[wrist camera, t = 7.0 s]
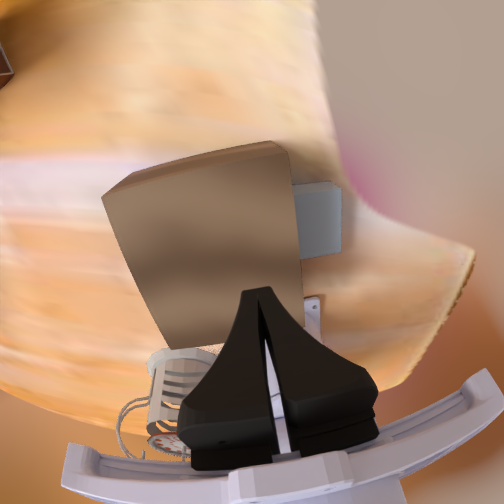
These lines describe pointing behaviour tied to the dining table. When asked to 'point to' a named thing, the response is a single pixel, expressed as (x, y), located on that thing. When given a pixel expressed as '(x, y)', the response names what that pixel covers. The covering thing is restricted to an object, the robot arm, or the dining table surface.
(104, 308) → the dining table surface
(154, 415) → the french press
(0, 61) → the food container
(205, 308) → the overhang shelf
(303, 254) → the grey rectangular block
